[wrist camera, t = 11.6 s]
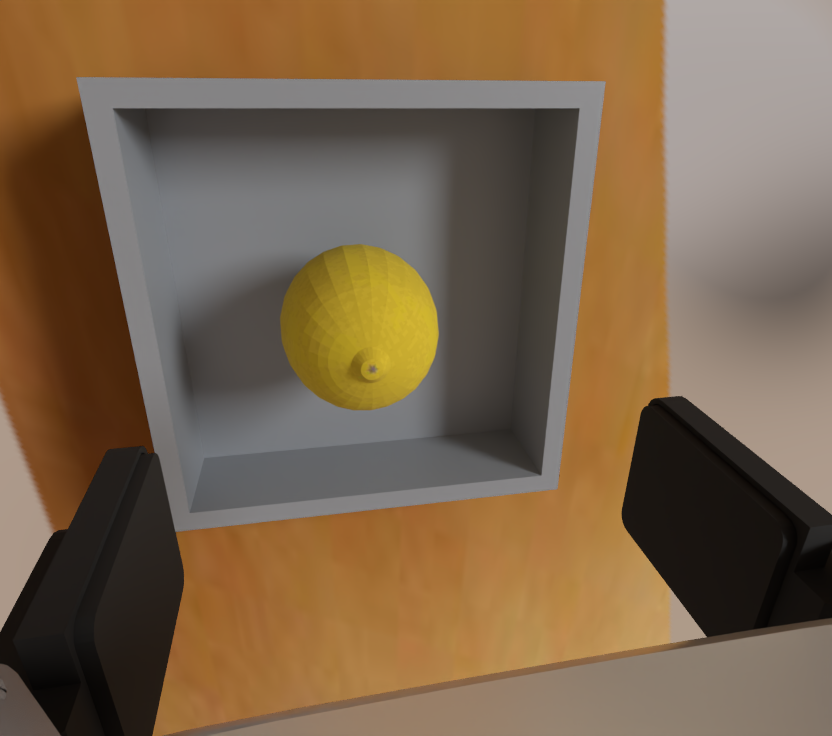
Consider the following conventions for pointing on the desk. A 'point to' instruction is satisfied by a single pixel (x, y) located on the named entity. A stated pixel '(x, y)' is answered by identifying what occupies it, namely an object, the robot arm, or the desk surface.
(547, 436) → the tote
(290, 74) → the desk surface
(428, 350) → the lemon
